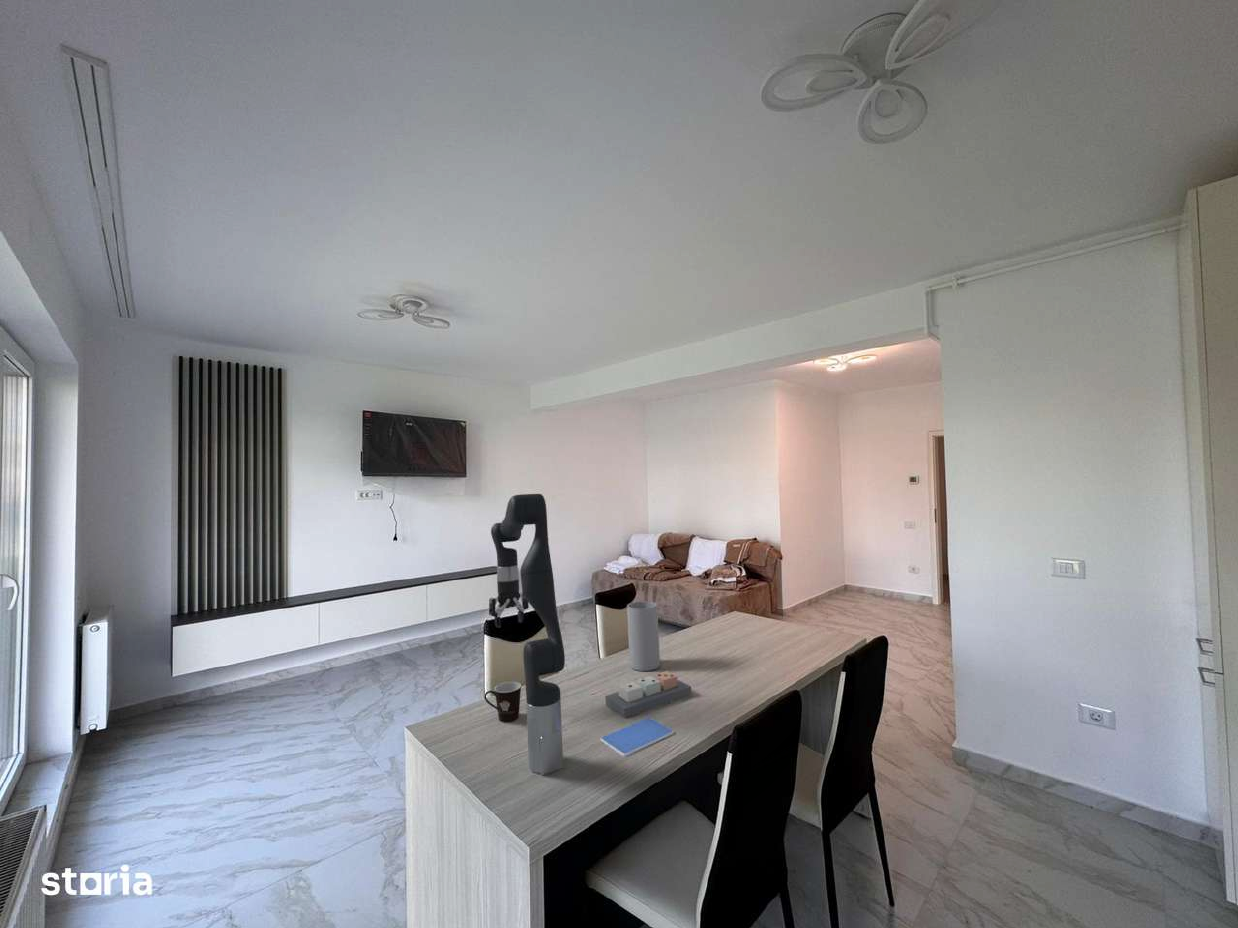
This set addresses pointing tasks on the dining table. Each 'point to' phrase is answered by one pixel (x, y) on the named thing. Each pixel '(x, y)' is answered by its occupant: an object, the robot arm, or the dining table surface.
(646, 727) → the blue flat rectangular panel
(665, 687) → the key three pips
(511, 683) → the coffee mug
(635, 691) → the key one pip
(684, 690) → the keypad board
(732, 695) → the dining table surface
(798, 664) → the dining table surface
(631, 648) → the cylinder vase
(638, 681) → the key two pips
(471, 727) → the dining table surface
